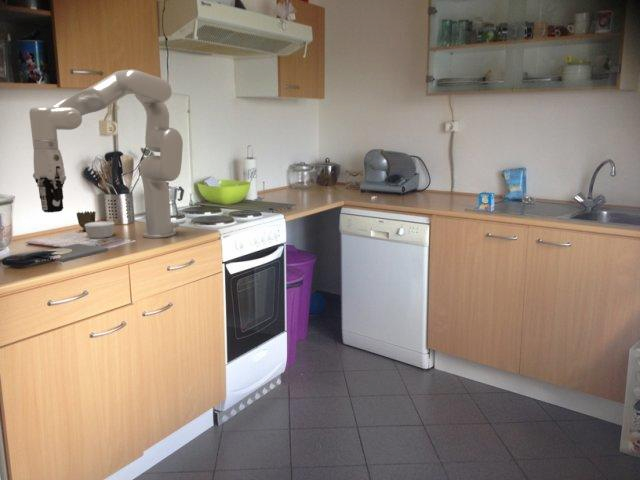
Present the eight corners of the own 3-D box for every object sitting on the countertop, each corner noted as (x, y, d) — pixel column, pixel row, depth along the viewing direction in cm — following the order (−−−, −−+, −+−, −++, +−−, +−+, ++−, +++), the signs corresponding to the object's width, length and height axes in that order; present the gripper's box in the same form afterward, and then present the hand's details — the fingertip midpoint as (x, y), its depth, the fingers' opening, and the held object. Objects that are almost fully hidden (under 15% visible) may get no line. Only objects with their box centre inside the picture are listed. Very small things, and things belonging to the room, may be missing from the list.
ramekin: (119, 233, 231) (118, 221, 230) (109, 239, 221) (108, 226, 219) (92, 233, 232) (91, 221, 231) (80, 239, 221) (79, 226, 220)
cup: (79, 229, 240) (77, 211, 238) (98, 228, 242) (96, 210, 240) (76, 233, 233) (75, 214, 231) (96, 232, 234) (94, 213, 233)
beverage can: (66, 209, 195) (63, 174, 192) (58, 212, 188) (54, 176, 186) (47, 209, 195) (43, 174, 192) (38, 212, 188) (34, 176, 186)
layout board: (77, 246, 208) (77, 243, 208) (107, 250, 200) (107, 247, 200) (32, 256, 192) (32, 253, 192) (63, 261, 185) (62, 258, 184)
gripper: (72, 145, 186) (78, 199, 190) (39, 144, 194) (45, 196, 198) (52, 146, 180) (58, 202, 183) (18, 145, 188) (25, 199, 192)
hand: (51, 198), depth 191 cm, fingers closed on beverage can, 6 cm apart
